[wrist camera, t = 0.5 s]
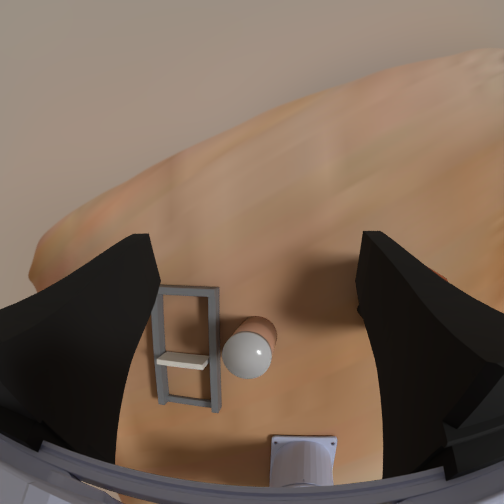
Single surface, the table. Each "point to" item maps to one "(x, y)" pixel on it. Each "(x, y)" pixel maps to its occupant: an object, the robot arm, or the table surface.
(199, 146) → the table surface
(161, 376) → the frame
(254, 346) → the jar
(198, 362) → the pusher plate
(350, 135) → the table surface
